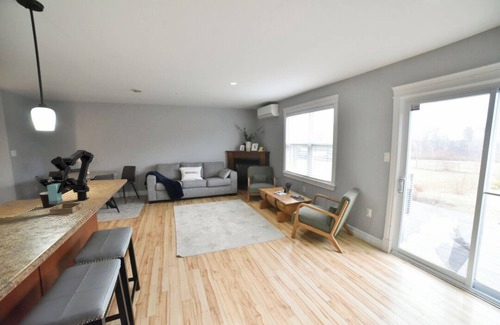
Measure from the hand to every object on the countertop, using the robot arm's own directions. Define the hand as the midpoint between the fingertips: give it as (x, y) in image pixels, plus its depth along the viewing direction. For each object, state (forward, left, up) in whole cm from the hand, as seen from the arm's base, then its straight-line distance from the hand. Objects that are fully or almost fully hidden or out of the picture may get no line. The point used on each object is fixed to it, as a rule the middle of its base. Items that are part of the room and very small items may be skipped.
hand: (53, 193), depth 131 cm
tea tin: (-1, 0, -7) cm, 7 cm away
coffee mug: (-18, -13, -13) cm, 26 cm away
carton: (-4, +5, -13) cm, 14 cm away
